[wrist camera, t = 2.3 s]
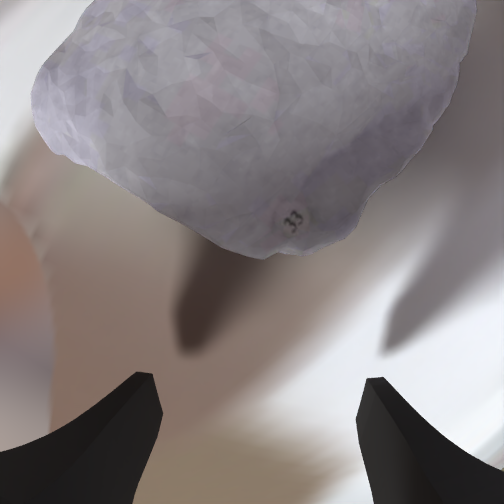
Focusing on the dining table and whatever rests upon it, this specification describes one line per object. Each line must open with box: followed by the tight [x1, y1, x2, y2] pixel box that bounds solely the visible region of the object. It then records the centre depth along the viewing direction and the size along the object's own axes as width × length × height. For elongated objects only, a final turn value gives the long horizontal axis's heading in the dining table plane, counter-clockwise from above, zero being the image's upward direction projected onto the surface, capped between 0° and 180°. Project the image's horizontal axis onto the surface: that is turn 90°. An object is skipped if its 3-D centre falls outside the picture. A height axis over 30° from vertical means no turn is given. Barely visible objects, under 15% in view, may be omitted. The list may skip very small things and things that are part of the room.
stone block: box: [31, 0, 477, 260], centre depth 7 cm, size 12×5×10 cm
